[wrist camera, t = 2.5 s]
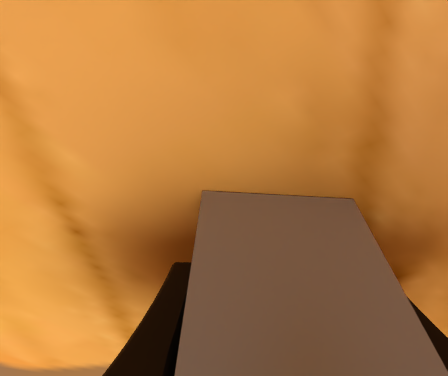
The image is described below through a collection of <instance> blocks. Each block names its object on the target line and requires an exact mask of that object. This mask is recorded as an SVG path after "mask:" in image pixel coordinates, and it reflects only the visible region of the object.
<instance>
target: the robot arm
mask: <svg viewBox="0 0 448 376" xmlns="http://www.w3.org/2000/svg"><path fill="white" fill-rule="evenodd" d="M190 270H191V263H188V262H175V263H174V264H173V265H172V267H171V269H170V271H169V273H168V275H167V278H166V280H165V281H164V283H163V285H162V287H161V289H160V291H159V293H158V294H157V296H156V298H155V300H154V301H153V303H152V305H151V306H150V308H149V309H148V311H147V313H146V314H145V316H144V318H143V319H142V321H141V322H140V324H139V326H138V327H137V328H136V330H135V331H134V333H133V334H132V336H131V337H130V339H129V340H128V342H127V343H126V345H125V346H124V348H123V349H122V350H121V352H120V353H119V354H118V356H117V357H116V359H115V360H114V361H113V363H112V364H111V365H110V366H109V368H108V369H107V370H106V372H105V373H104V374H103V375H102V376H175V369H176V362H177V356H178V349H179V343H180V336H181V329H182V323H183V316H184V310H185V303H186V296H187V290H188V283H189V277H190ZM407 298H408V297H407ZM408 300H409V302H410V304H411V306H412V307H413V309H414V311H415V313H416V315H417V316H418V318H419V320H420V322H421V324H422V326H423V327H424V329H425V331H426V333H427V335H428V337H429V338H430V340H431V342H432V344H433V346H434V348H435V349H436V351H437V353H438V355H439V357H440V359H441V360H442V362H443V364H444V366H445V368H446V369H447V371H448V338H447V337H446V336H445V335H444V334H443V333H442V332H441V331H440V330H439V329H438V328H437V327H436V326H435V325H434V324H433V323H432V322H431V321H430V320H429V319H428V318H427V317H426V316H425V315H424V314H423V313H422V312H421V311H420V310H419V309H418V308H417V307H416V306H415V305H414V304H413V303H412V302H411V301H410V299H409V298H408Z"/></svg>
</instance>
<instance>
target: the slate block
mask: <svg viewBox="0 0 448 376" xmlns="http://www.w3.org/2000/svg"><path fill="white" fill-rule="evenodd" d="M175 376H448V371H447V369H446V368H445V366H444V364H443V362H442V360H441V359H440V357H439V355H438V353H437V351H436V349H435V348H434V346H433V344H432V342H431V340H430V338H429V337H428V335H427V333H426V331H425V329H424V327H423V326H422V324H421V322H420V320H419V318H418V316H417V315H416V313H415V311H414V309H413V307H412V306H411V304H410V302H409V300H408V298H407V296H406V295H405V293H404V291H403V289H402V287H401V285H400V284H399V282H398V280H397V278H396V276H395V274H394V273H393V271H392V269H391V267H390V265H389V263H388V262H387V260H386V258H385V256H384V254H383V252H382V251H381V249H380V247H379V245H378V243H377V242H376V240H375V238H374V236H373V234H372V232H371V231H370V229H369V227H368V225H367V223H366V221H365V220H364V218H363V216H362V214H361V212H360V210H359V209H358V207H357V205H356V203H355V201H354V199H345V198H327V197H309V196H290V195H272V194H254V193H235V192H217V191H202V197H201V204H200V210H199V217H198V224H197V230H196V237H195V243H194V250H193V257H192V263H191V270H190V277H189V283H188V290H187V296H186V303H185V310H184V316H183V323H182V329H181V336H180V343H179V349H178V356H177V362H176V369H175Z"/></svg>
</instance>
